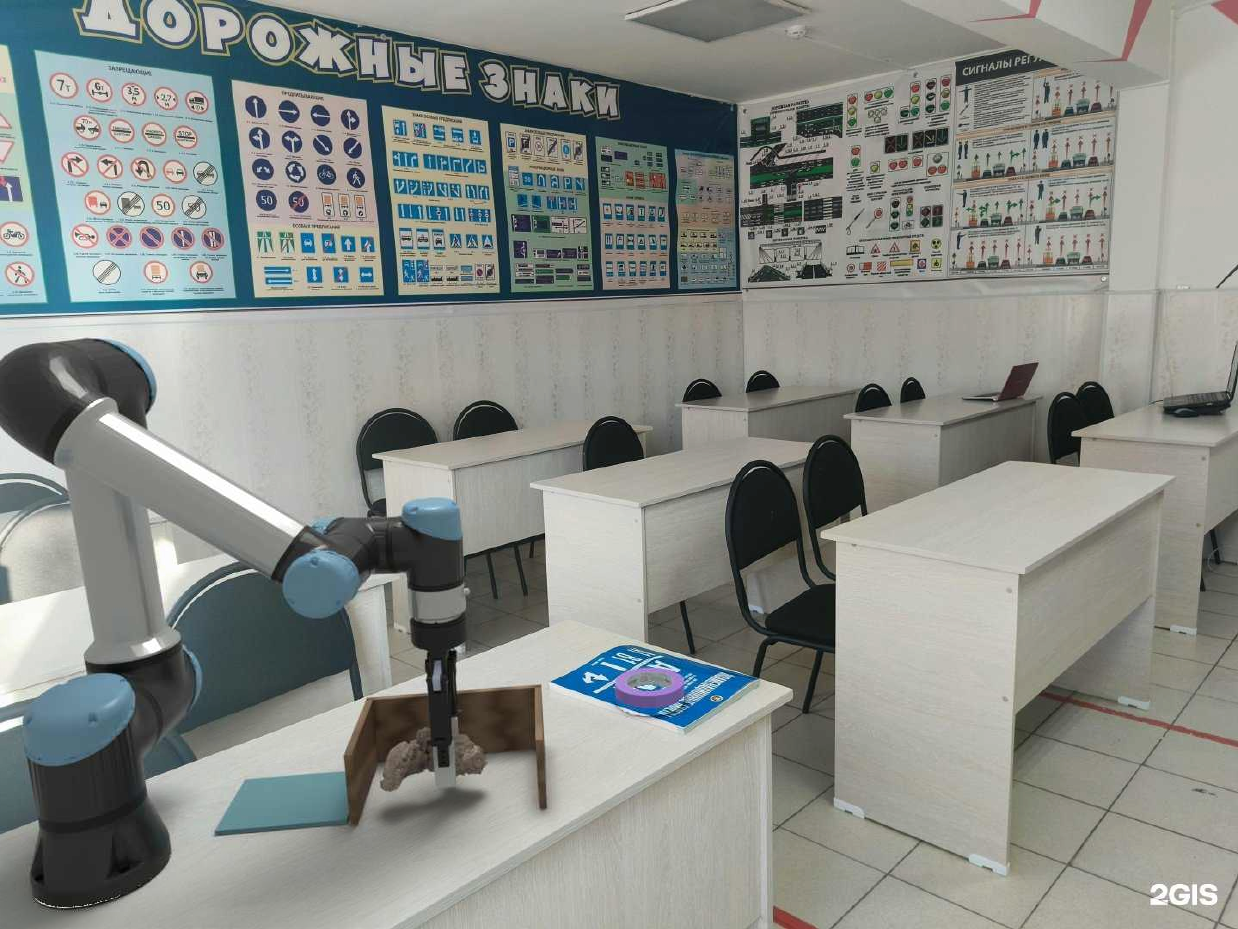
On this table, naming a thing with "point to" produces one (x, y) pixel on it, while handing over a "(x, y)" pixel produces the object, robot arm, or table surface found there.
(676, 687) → the masking tape
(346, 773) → the walnut cubby
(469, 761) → the rock
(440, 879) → the table surface
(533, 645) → the table surface
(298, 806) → the teal rubber mat
